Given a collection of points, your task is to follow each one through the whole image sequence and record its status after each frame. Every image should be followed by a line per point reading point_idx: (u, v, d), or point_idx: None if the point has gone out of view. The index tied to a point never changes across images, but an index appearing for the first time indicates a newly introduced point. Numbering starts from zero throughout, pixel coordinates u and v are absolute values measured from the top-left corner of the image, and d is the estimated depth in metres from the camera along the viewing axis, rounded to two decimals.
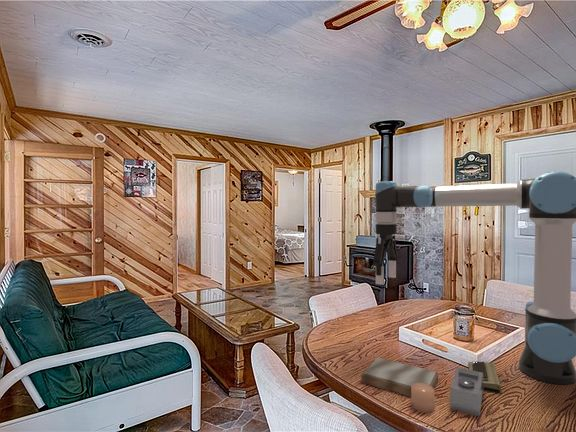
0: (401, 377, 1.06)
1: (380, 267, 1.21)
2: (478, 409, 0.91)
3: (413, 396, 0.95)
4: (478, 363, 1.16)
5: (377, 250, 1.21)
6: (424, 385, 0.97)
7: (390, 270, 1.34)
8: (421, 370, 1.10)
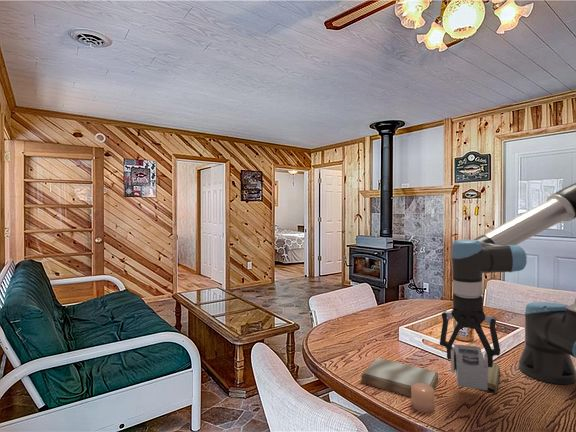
0: (401, 377, 1.06)
1: (448, 349, 1.01)
2: (486, 382, 0.91)
3: (413, 396, 0.95)
4: None
5: None
6: (424, 385, 0.97)
7: None
8: (421, 370, 1.10)
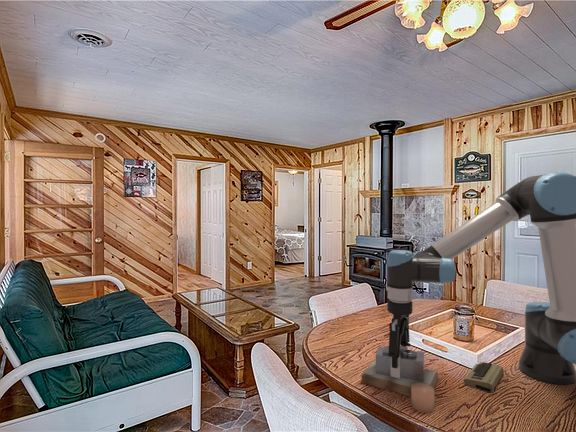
0: None
1: (396, 358, 1.04)
2: None
3: (413, 396, 0.95)
4: (484, 364, 1.15)
5: (392, 339, 1.03)
6: (424, 385, 0.97)
7: None
8: None
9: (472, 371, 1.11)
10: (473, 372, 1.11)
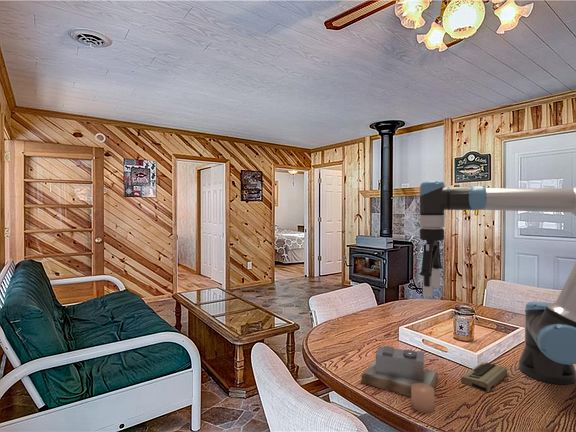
0: None
1: (429, 277, 1.08)
2: None
3: (413, 396, 0.95)
4: (487, 364, 1.15)
5: (425, 258, 1.08)
6: (424, 385, 0.97)
7: (434, 279, 1.21)
8: None
9: (472, 370, 1.12)
10: (473, 371, 1.11)
